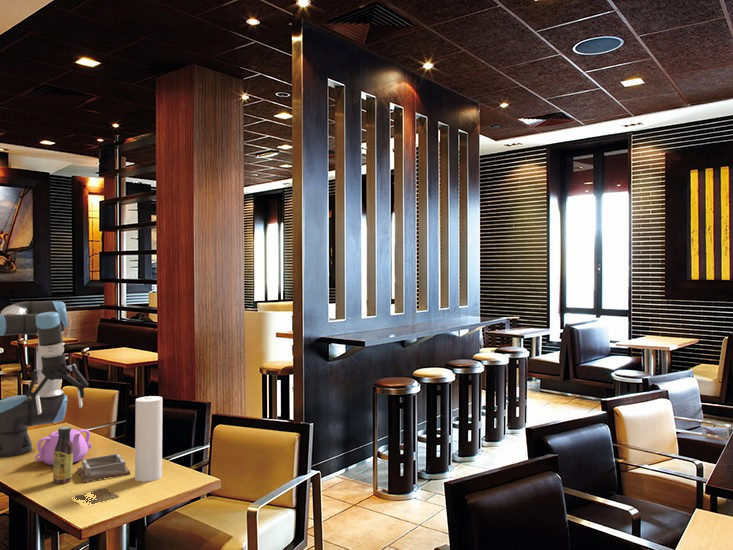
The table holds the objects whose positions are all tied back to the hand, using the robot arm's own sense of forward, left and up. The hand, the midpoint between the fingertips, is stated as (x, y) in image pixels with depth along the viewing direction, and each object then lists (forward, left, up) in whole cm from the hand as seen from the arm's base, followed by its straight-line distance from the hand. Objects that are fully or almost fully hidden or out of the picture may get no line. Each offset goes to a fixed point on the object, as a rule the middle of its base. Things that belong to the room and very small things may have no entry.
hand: (60, 409), depth 205 cm
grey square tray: (+1, +15, -26) cm, 30 cm away
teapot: (-21, +5, -26) cm, 34 cm away
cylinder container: (+16, +28, -26) cm, 41 cm away
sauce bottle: (+3, +1, -26) cm, 26 cm away
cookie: (+26, +8, -27) cm, 38 cm away
